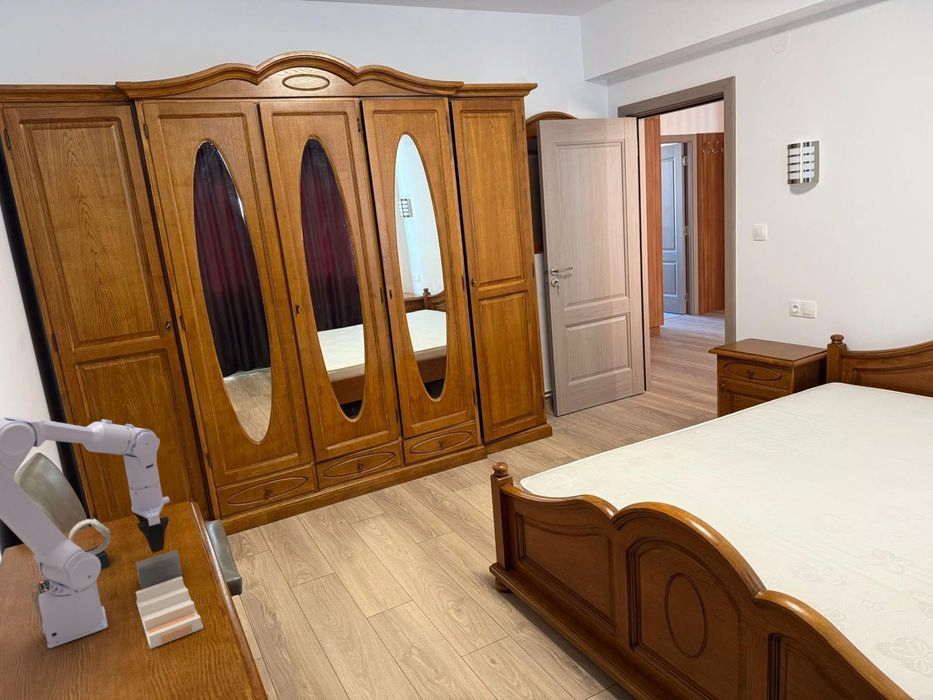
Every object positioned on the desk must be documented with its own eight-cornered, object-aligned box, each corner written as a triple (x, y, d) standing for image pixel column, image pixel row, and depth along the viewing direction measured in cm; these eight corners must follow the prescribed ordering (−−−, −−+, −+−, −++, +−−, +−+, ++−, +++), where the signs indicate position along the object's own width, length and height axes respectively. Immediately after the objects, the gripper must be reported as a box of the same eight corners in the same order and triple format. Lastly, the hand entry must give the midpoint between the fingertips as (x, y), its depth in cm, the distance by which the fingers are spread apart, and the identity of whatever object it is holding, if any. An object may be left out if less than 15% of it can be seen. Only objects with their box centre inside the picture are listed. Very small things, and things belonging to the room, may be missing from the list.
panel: (141, 590, 129) (137, 568, 128) (139, 583, 131) (135, 562, 130) (182, 575, 133) (179, 555, 132) (179, 570, 135) (176, 549, 134)
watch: (119, 562, 140) (110, 517, 137) (79, 578, 134) (69, 532, 132) (111, 554, 144) (102, 510, 141) (71, 569, 138) (62, 524, 136)
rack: (150, 650, 110) (148, 638, 109) (136, 602, 124) (134, 592, 123) (203, 629, 114) (201, 617, 114) (184, 586, 129) (182, 575, 128)
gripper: (171, 489, 124) (182, 550, 127) (159, 468, 136) (169, 524, 138) (132, 499, 120) (144, 562, 123) (123, 477, 132) (134, 535, 134)
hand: (154, 543), depth 130 cm, fingers open, 7 cm apart
